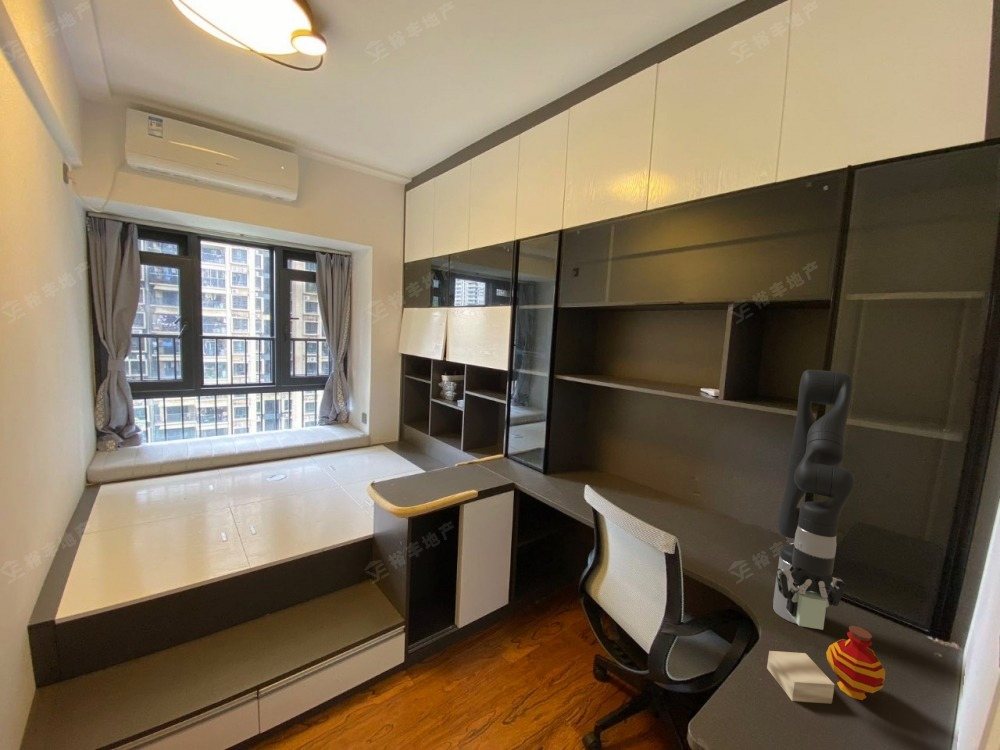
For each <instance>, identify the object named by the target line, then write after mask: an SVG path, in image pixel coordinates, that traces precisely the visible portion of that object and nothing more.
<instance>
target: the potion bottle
mask: <svg viewBox="0 0 1000 750" xmlns="http://www.w3.org/2000/svg"><path fill="white" fill-rule="evenodd" d="M848 630H849V631H847V632H846V634H847V635H846V636H847V637H848V639H844V638H842V639H839V640H837V641H835V642H834V643H832V644H830V645H829V646H828V648H827V650H826V659H827V662H828V664H829V667H830V669H831V670H833V672H834V673H835V675H836V677H837V678H838V680H839V681H838V682H837V683H836V684H837V686H838V687H839V689H840V691H842V692H843V693H845V695H847V696H848V697H850V698H853V699H856V700H861V701H863V700H865V699H866V698H867V696H866V694H868V693H870V694H874V693H876V692H878V691H880V690H882V689H883V687H884V686H885V683H884V682H885V681H886V670H885V668H884V666H883V665H882V663H881V661H880V659H879V658H878V656H877V655H876V654H875V652H874V651H873V649H871V648H869V647H871V646H872V645H873V642H872V640H871V639H872V638H873V635H872V634H871V632H869V631H868V630H866V629H864V628H862V627H860V626H857V625H856V626H855V625H850V626H848Z"/></svg>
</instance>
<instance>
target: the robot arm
mask: <svg viewBox="0 0 1000 750" xmlns="http://www.w3.org/2000/svg"><path fill="white" fill-rule="evenodd" d="M853 386H854V385H853V379H852V375H850V374H849V373H847V372H841V371H833V370H832V371H831V370H821V369H820V370H819V369H805V370H804V371H803V372H802V375H801V378H800V382H799V386H798V387H799V389H798V397H797V410H796V420H795V426H794V431H793V436H792V442H791V446H790V452H789V459H788V465H787V474H786V482H785V487H784V492H783V496H782V500H781V504H780V508H779V512H778V516H777V530H778V533H779V534H780V535H781V536H783V537H785V538H789V539H794V541H793V543H789V544H783V545H782V546H781V547H780V551H779V557H778V558H779V559H778V565H777V566H778V567H777V569H775V574H776V576H775V577H776V578H775V585H774V590H773V591H774V594H773V599H772V603H773V606H772V607H773V608H772V609H773V611H774V612H775V614H777V615H778V616H779V617H780V618H782V619H784V620H785V621H788V622H790V623H793V624H796V625H798V624H797V623H796V622H795V620H794V619H793V618H792V616H793V617H796V613H797V605H798V603H797V601H798V599H799V595H803V594H804V593H805V591H813V592H816V593H818V595H819V596H820V597H821V598H824V599H825V600H826V601H827V606H826V613H825V619H826V618H827V612H828V607H830V606H834V607H837V606H839V604H840V601H841V599H842V597H843V595H844V593H845V590H846V588H847V583H845V581H843V580H842V579H841V578H840V577H838V576H835V577H834V576H833V575H832V574H833V572H834V564H835V558H836V552H837V533H838V526H839V520H840V519H839V518H840V516H841V512H842V510H843V508H844V507H845V504H846V503H847V501H848V499H849V498H850V496H851V494H852V493H853V490H854V488H855V483H856V482H855V477H854V475H853V474H852V472H850V471H849V470H848V469H847V468H844V467H840V466H837V465H839V464H841V463H842V462H843V460H844V456H845V455H844V454H845V453H844V452H845V447H844V446H845V445H844V444H845V429H846V425H847V421H848V416H849V412H850V408H851V407H850V406H851V400H852V395H853ZM812 404H820V405H826V406H827V405H828V406H832V407H831V409H830V410H829V411H828V412H826V413H825V414H823V416H820V417H819V418H818V419H817V420H816V418H815V417H814V413H813V409H812ZM806 493H810V494H812V495H813V494H815V495H817V496H818V495H819V496H823V497H827V498H828V497H829V498H828V499H827V500H825V501H804V502H802V503H801V504H800V507H798V505H799V503H800V501H801V499H802V498H803V497H804V496H805V495H806ZM829 585H830V587H829V589H828V591H827V589H826V588H828V586H829ZM798 586H799V588H798ZM794 591H795V592H794ZM789 613H790V614H791V615H790V614H789Z"/></svg>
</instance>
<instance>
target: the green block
mask: <svg viewBox="0 0 1000 750" xmlns="http://www.w3.org/2000/svg"><path fill="white" fill-rule="evenodd" d="M798 588H799V586H798ZM794 592H795V591H794ZM797 603H798V605H797V613H796V617H793V616H792V618H793V619H794V620H795V622H796V623H797V624H796V623H795V624H796V625H798V627H803V628H804V627H805V628H811V629H818V630H822V631H823V630H824V628H825V627H824V626H825V620H826V618H825V613H826V606H827V601H826V600H825V599H824V598H821V597H820V596H819V595H818V593H816V592H813V591H805V593H804V594H803V595H799V599H798V601H797ZM789 614H790V613H789ZM826 614H827V613H826ZM790 615H791V614H790Z"/></svg>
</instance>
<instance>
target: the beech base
mask: <svg viewBox="0 0 1000 750" xmlns="http://www.w3.org/2000/svg"><path fill="white" fill-rule="evenodd" d="M766 669H767V670H768V672H769V673H770V674H771V675H772V677H773V678H774V679H775V681H776V682H777V683H778V684H779V686H780V687H781V688H782V690H783V691H784V692H785V693H786V695H787V696H788V698H789V699H790V700H791V701H792V702H802V703H818V704H830V705H831V704H833V699H834V691H835V685H836V684H835V683H834V682H833V681H832V680H831V679H830V678H829V677H828V676H827V675H826V674H825V673H824V672H823V670H821V668H820V667H819V666H818V665H817V664H816V663H815V662H814V661H813V660H812V658H811V657H809V655H808V654H807V653H806V652H792V651H791V652H790V651H777V650H769V651H768V656H767V665H766Z"/></svg>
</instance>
